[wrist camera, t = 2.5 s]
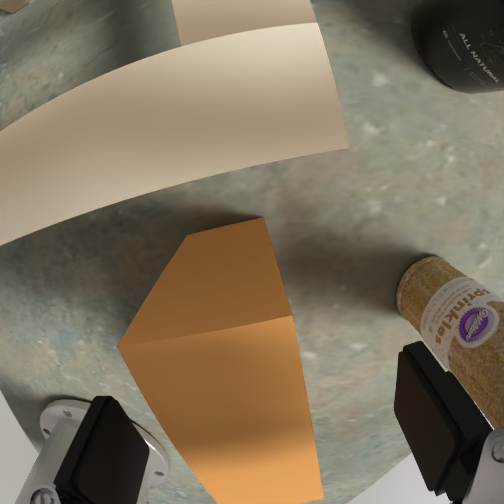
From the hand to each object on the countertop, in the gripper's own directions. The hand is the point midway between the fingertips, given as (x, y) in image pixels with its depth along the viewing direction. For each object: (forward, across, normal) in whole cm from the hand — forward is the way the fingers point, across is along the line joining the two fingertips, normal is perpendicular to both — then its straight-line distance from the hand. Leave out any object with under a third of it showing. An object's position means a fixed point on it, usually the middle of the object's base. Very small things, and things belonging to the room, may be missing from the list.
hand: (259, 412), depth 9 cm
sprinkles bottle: (+9, -10, +2) cm, 14 cm away
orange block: (+9, +1, 0) cm, 9 cm away
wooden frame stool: (+9, +4, -16) cm, 18 cm away
